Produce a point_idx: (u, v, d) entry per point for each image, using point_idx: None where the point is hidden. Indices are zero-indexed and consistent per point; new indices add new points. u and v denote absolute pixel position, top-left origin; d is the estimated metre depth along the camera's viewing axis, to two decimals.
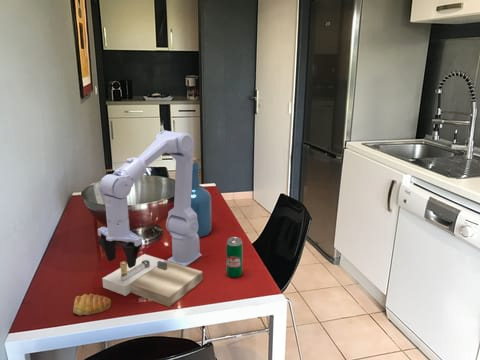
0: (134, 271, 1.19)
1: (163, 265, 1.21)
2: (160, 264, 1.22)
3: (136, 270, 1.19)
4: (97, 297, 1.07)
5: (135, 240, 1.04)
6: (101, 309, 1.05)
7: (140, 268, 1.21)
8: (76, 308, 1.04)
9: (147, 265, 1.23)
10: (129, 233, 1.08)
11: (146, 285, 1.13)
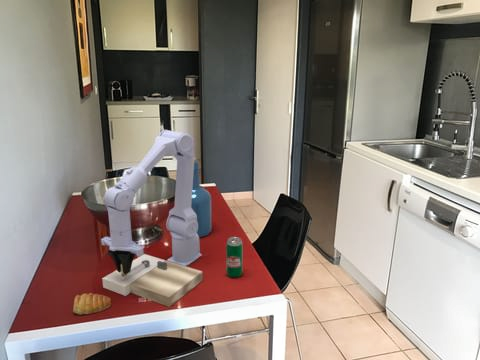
0: (134, 271, 1.19)
1: (163, 265, 1.21)
2: (160, 264, 1.22)
3: (136, 270, 1.19)
4: (96, 296, 1.07)
5: (137, 250, 1.09)
6: (101, 308, 1.06)
7: (140, 268, 1.21)
8: (76, 307, 1.04)
9: (147, 265, 1.23)
10: (131, 243, 1.13)
11: (146, 285, 1.13)
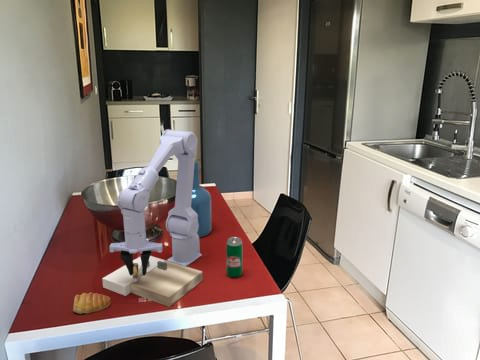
0: (141, 272, 1.18)
1: (163, 265, 1.21)
2: (160, 264, 1.22)
3: None
4: (96, 296, 1.08)
5: (159, 247, 1.11)
6: (101, 307, 1.06)
7: None
8: (76, 307, 1.04)
9: (148, 264, 1.23)
10: (146, 243, 1.13)
11: (146, 285, 1.13)
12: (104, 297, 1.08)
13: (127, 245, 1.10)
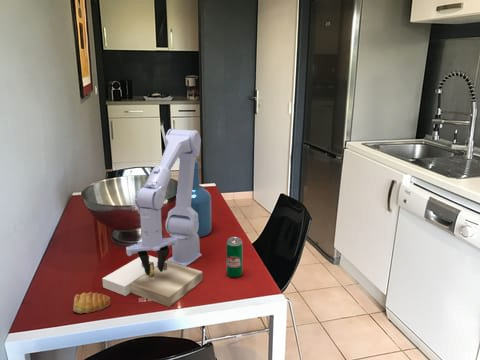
0: None
1: None
2: None
3: None
4: (96, 295, 1.08)
5: (176, 240, 1.16)
6: (101, 306, 1.06)
7: None
8: (76, 306, 1.05)
9: None
10: None
11: (146, 285, 1.13)
12: (104, 297, 1.08)
13: (148, 244, 1.10)
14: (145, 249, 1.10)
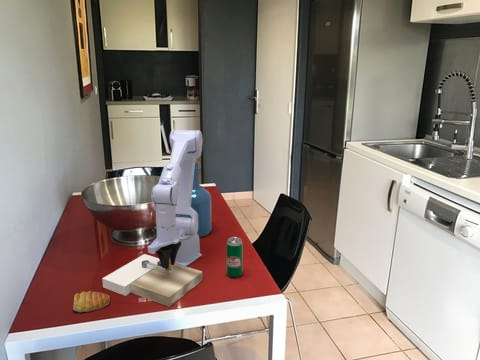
0: None
1: None
2: (160, 264, 1.22)
3: None
4: (96, 294, 1.08)
5: (183, 231, 1.22)
6: (101, 305, 1.07)
7: None
8: (76, 305, 1.05)
9: None
10: None
11: (146, 285, 1.13)
12: (104, 295, 1.09)
13: (168, 239, 1.14)
14: (167, 244, 1.13)
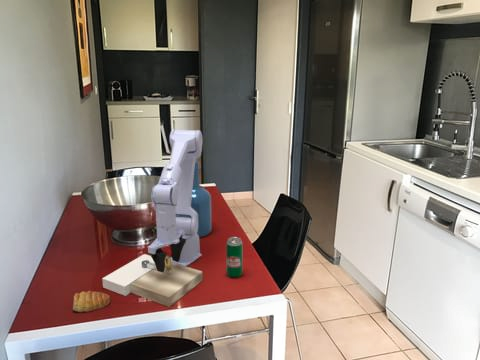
0: None
1: None
2: None
3: None
4: (95, 294, 1.09)
5: (183, 231, 1.22)
6: (101, 305, 1.07)
7: None
8: (76, 305, 1.05)
9: None
10: None
11: (146, 285, 1.13)
12: (103, 295, 1.09)
13: (168, 239, 1.14)
14: (167, 244, 1.13)
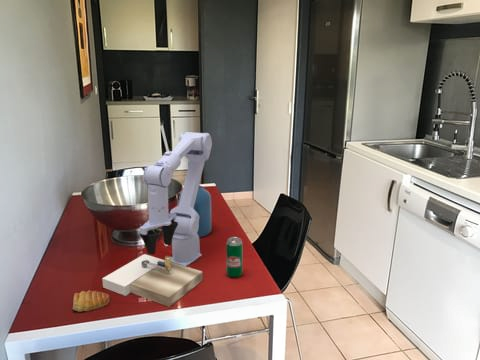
0: None
1: (163, 265, 1.21)
2: (160, 264, 1.22)
3: None
4: (95, 293, 1.09)
5: (175, 215, 1.22)
6: (100, 304, 1.07)
7: None
8: (76, 305, 1.05)
9: None
10: None
11: (146, 285, 1.13)
12: (103, 295, 1.09)
13: (160, 220, 1.14)
14: (159, 225, 1.13)
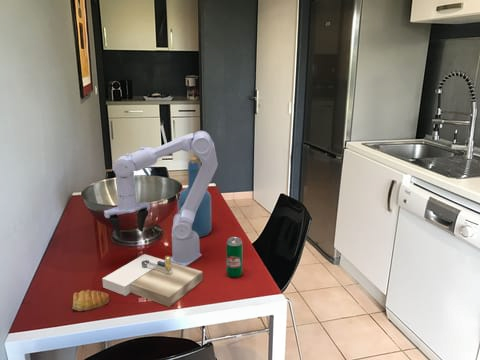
0: None
1: (163, 265, 1.21)
2: (160, 264, 1.22)
3: None
4: (95, 293, 1.09)
5: (148, 204, 1.30)
6: (100, 303, 1.08)
7: None
8: (76, 304, 1.05)
9: None
10: None
11: (146, 285, 1.13)
12: (103, 294, 1.10)
13: (124, 207, 1.24)
14: (122, 211, 1.24)
